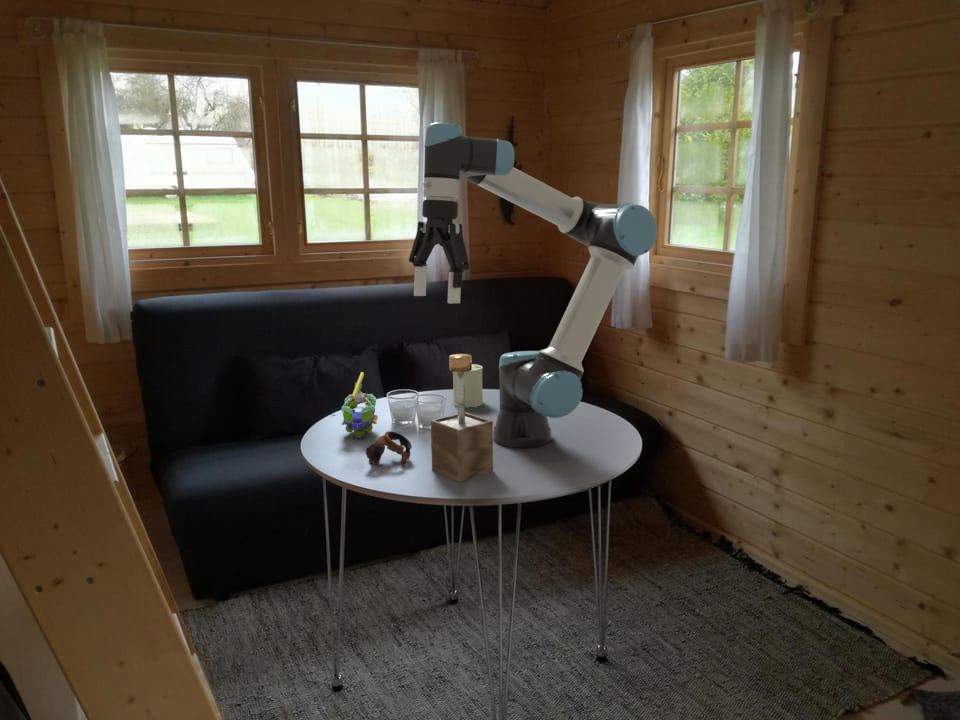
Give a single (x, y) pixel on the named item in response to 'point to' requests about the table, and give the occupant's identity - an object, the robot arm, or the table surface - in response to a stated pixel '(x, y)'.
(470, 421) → the plunger
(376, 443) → the brown arched band part
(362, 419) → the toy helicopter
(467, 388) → the can
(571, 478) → the table surface
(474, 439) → the box
